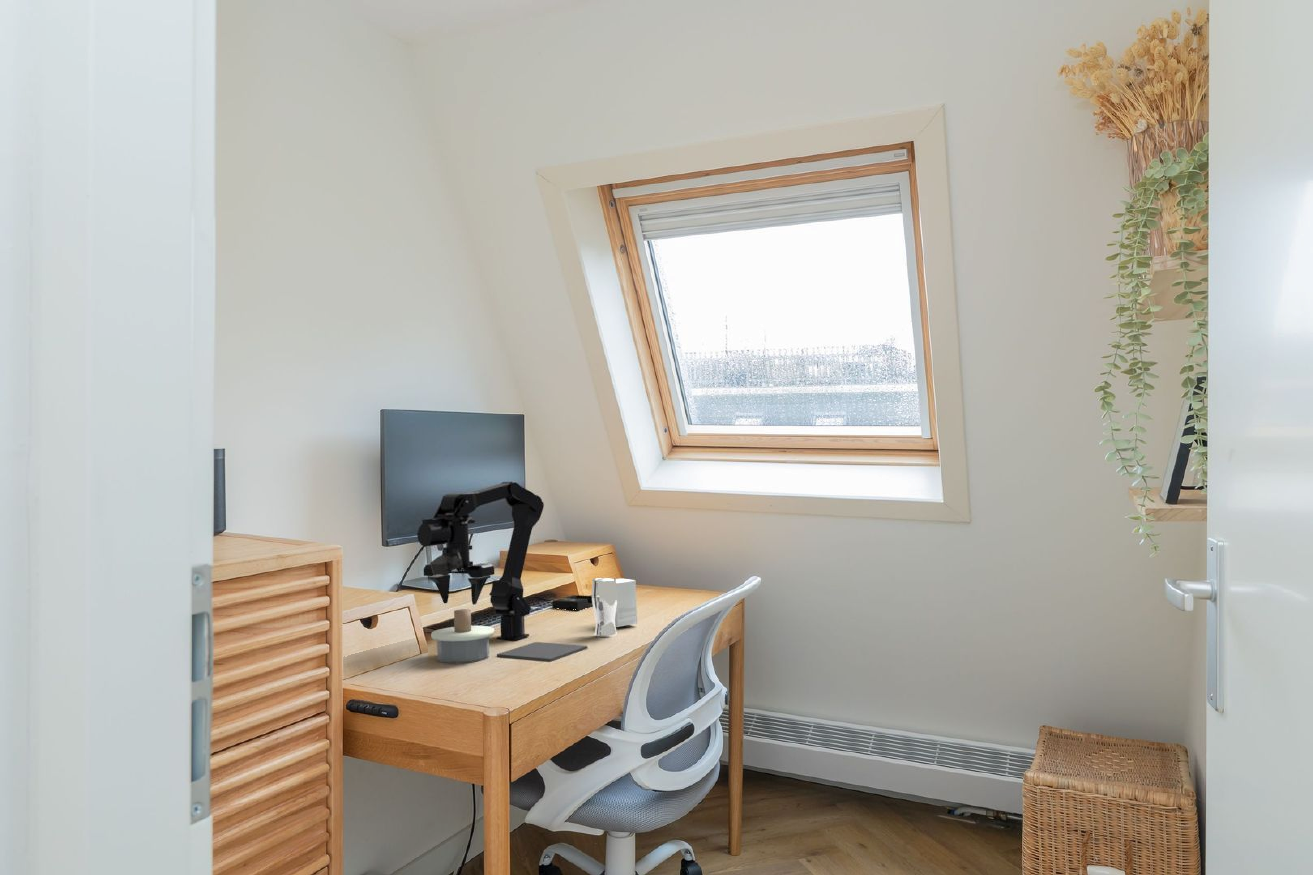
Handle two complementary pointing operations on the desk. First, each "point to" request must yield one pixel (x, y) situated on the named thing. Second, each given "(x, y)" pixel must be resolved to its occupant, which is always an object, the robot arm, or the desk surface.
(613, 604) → the beer glass
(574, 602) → the battery charger
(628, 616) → the supplement box
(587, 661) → the desk surface
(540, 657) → the mat
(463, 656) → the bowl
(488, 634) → the lid
